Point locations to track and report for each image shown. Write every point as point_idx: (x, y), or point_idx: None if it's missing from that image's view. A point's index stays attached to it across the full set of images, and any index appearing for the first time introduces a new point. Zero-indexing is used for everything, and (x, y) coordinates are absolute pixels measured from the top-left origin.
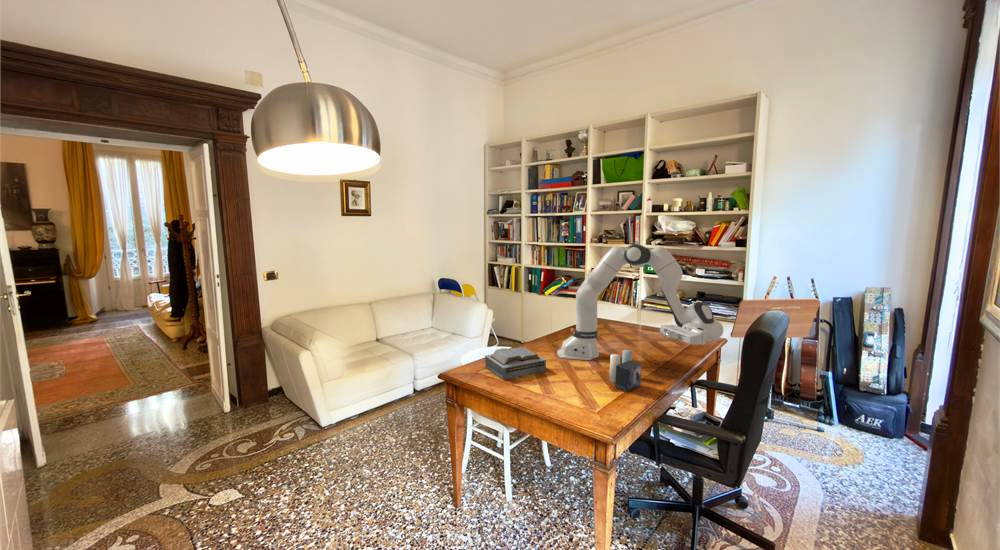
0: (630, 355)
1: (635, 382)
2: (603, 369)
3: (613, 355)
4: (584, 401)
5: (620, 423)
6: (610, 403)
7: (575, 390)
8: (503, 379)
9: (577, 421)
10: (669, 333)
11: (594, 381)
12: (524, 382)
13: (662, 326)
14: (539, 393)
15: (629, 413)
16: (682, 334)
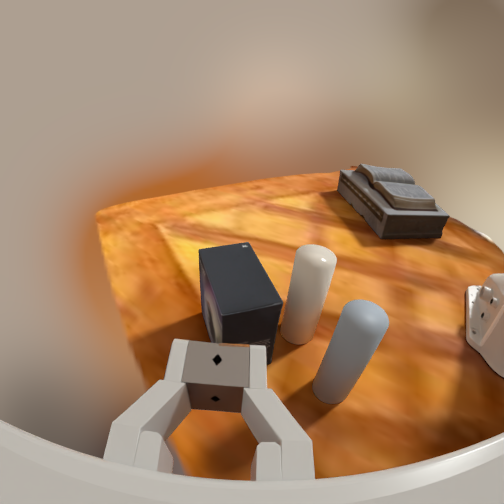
0: (339, 329)
1: (208, 329)
2: (397, 347)
3: (316, 251)
4: (205, 228)
5: (102, 231)
6: (169, 254)
7: (262, 237)
8: (337, 189)
9: (151, 200)
10: (197, 374)
11: None
12: (323, 201)
13: (497, 436)
14: (269, 200)
15: (113, 257)
16: (24, 431)
